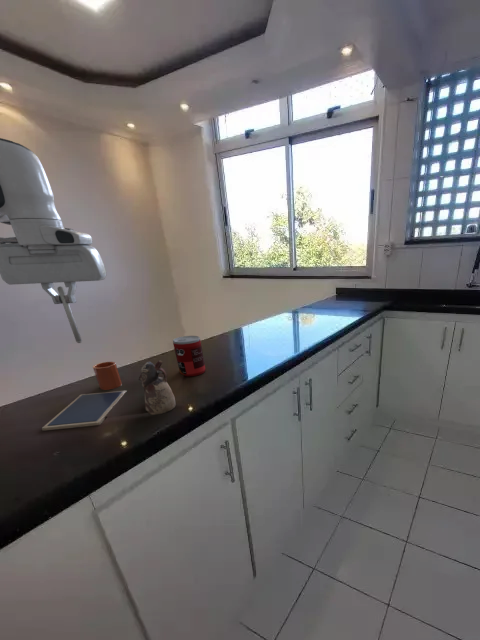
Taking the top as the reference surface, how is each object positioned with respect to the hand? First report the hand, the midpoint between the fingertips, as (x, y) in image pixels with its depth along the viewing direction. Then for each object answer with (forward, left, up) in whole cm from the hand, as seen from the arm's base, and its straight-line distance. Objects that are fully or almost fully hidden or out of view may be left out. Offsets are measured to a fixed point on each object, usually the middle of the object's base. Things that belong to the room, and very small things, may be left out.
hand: (65, 303), depth 72 cm
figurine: (+18, -9, -25) cm, 32 cm away
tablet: (0, -6, -25) cm, 26 cm away
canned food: (+22, +15, -25) cm, 37 cm away
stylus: (0, 0, -10) cm, 10 cm away
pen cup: (0, +8, -25) cm, 26 cm away
